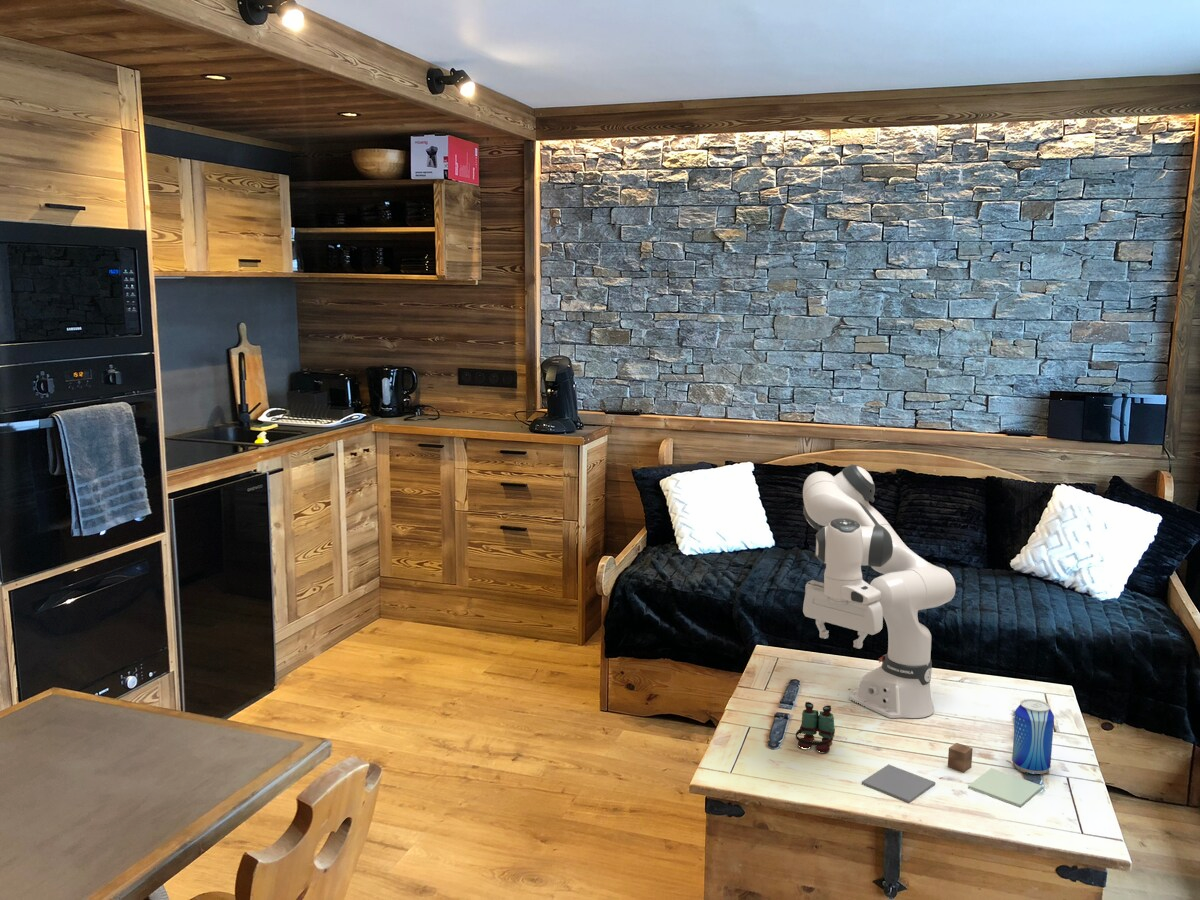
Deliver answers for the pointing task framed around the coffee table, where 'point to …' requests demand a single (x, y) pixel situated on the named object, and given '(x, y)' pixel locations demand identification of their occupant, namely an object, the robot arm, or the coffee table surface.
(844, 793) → the coffee table surface
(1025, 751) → the beer can
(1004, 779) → the sage tile
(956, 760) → the walnut block
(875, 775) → the slate tile
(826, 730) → the binoculars
